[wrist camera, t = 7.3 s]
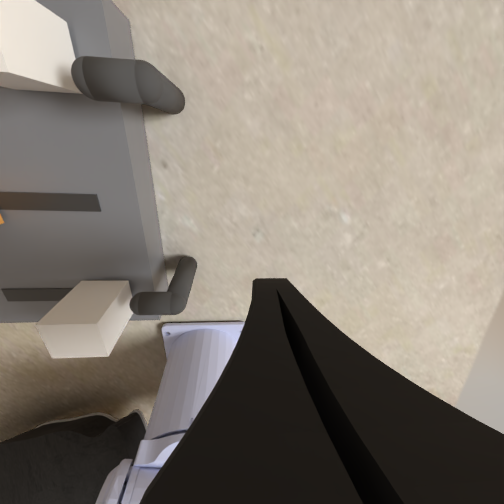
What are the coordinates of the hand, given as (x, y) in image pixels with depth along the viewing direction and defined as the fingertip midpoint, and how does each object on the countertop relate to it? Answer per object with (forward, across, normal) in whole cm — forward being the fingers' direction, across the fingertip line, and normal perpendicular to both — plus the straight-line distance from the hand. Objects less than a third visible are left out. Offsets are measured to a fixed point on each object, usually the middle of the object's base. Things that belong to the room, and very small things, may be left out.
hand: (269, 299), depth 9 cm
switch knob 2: (+6, +10, +4) cm, 13 cm away
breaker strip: (+9, +13, -2) cm, 16 cm away
